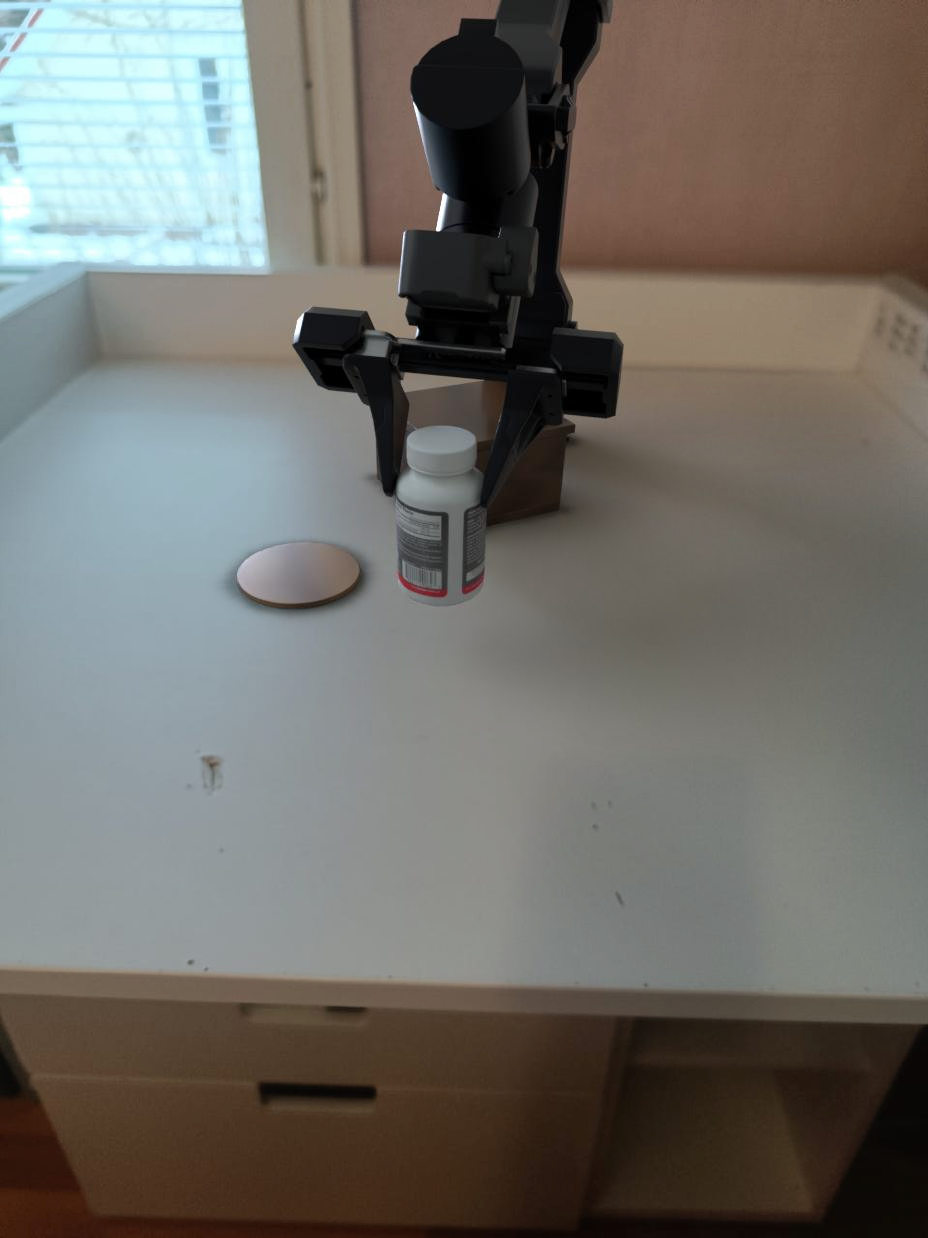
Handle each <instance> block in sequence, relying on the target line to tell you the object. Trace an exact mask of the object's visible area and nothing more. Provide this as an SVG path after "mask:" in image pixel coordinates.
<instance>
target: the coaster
mask: <svg viewBox="0 0 928 1238" xmlns="http://www.w3.org/2000/svg"><path fill="white" fill-rule="evenodd" d="M360 578H361V568H360V564H359V561H358V560H357V559H356V558H355V556H354V555H353V554H351V553H349V552H348V551H347V550H345V549H343V548H340V547H338V546H336V545H332V544H328V543H322V542H313V541H297V542H289V543H288V542H287V543H282V544H277V545H273V546H269V547H266V548H263V549H261V550H259V551H257V552H255V553H253V554H251V555H250V556H248V557H247V558H246V559H245V560H244V561H243V562H242V563H241V564H240V566H239V568H238V570H237V572H236V582H237V586H238V588H239V590H240V592H241V593H242V594H243V595H244V596H246V597H247V598H248V599H250V600H252V601H254V602H256V603H259V604H261V605H264V606H269V607H272V608H273V607H274V608H279V609H303V608H305V609H306V608H312V607H313V608H314V607H317V606H322V605H324V604H325V605H326V604H329V603H332V602H334V601H336V600H338V599H340V598H342V597H344V596H346V595H347V594H349V593H350V592H352V590H353V589H354V588H355V587H356V586H357V584H358V582H359V580H360Z"/></svg>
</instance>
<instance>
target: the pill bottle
mask: <svg viewBox="0 0 928 1238" xmlns="http://www.w3.org/2000/svg"><path fill="white" fill-rule="evenodd" d="M476 461H477V440H476V437H475V435H474V434H473V433H471V432H469V431H467V430H465V429H462V428H459V427H453V426H428V427H424V428H420V429H418V430H415V431H413V432H412V433H411V434H410V435H409V436H408V438H407V463H408V465H409V467H407V468H406V469H405V470H403V471H402V472H401V474H400V475H399V477H398V479H397V482H396V490H395V493H396V495H395V520H396V522H395V523H396V554H397V559H396V560H397V581H398V587H399V589H400V591H401V592H402V593H403V594H404V595H405V596H406V597H407V598H408V599H410V600H412V601H414V602H417V603H420V604H422V605H427V606H433V607H451V606H456V605H460V604H463V603H466V602H468V601H470V600H472V599H473V598H475V597H476V596H477V595H478V594H479V593H480V592H481V590H482V589H483V587H484V583H485V582H484V581H485V569H486V567H485V565H486V542H487V541H486V539H487V538H486V536H487V535H486V534H487V526H486V517H487V509H486V508H482V506H481V503H480V500H481V493H482V486H483V479H484V475H483V474H482V473H481V472H480V471H479V470H478V469H477V468H476V467H475V465H476Z"/></svg>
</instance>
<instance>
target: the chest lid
mask: <svg viewBox="0 0 928 1238" xmlns="http://www.w3.org/2000/svg"><path fill="white" fill-rule="evenodd" d="M505 391H506V383H505V382H498V381H488V380H478V381H471V382H463V383H457V384H451V385H445V386H438V387H431V388H425V389H418V390H417V389H416V390H411V391H410V390H409V391H406V392H405V391H404V392H405V394H406V397H407V399H408V401H409V403H410V406H409V413H408V420H407V427H406V430H407V431H408V432H410V433H412V432H413V431H415V430H418V429H420V428H424V427H428V426H453V427H459V428H462V429H465V430H467V431H469V432H471V433H473V434H474V435H475V437H476V440H477V451H481V450H486V449H492V445H493V442H494V438H495V434H496V431H497V427H498V424H499V420H500V416H501V414H502V409H503V404H504V398H505ZM575 433H576V423H574V422H573V421H571V420H570V419H568V418H566V417H565V416H564V417H563V423H562V424H561V425H558V426H552V425H548V426H546V427H545V428H544V429H543V430H542V431H541V432H540V434H539V435H538V436H537V437H536V439H535V440H540V439H545V438H550V437H556V436H561V435H566V434H567V435H572V434H575Z"/></svg>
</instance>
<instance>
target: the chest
mask: <svg viewBox="0 0 928 1238" xmlns="http://www.w3.org/2000/svg"><path fill="white" fill-rule="evenodd" d="M410 434H411V433H410V432H408V431H407V430H406V433H405V440H404V447H403V454H402V461H401V468H400V474H401V472H402V471H403V470H405V469H406V468H407V467H409V465H408V463H407V438H408V436H409V435H410ZM567 435H568V434H567ZM567 435H561V436H556V437H550V438H545V439H540V440H534V441H533V442H532V443H531V445H530V446H529V447H528V448H527V449H526V451H525V452H524V453H523V455H522V456H521V457H520V459H519V460H518V462H517V463H516V465H515V467H514V468H513V470H512V471H511V473H510V475H509V476H508V478H507V480H506V481H505V483H504V484H503V486H502V488H501V489H500V491H499V493H498V494H497V496H496V497H495V499H494V501H493V502H492V504H491V506H490V507H489V508H488V509H487V517H486V527H489V526H490V527H491V526H495V525H500V524H503V523H507V522H512V521H515V520H520V519H525V518H528V517H533V516H537V515H542V514H546V513H551V512H554V511H555V512H556V511H558V510H560V509H561V508H560V507H561V500H562V499H561V498H562V489H563V478H564V469H565V468H564V466H565V457H566V448H567V442H566V438H567ZM490 452H491V449H486V450H481V451H477V461H476V465H475V467H476V468H477V469H478V470H479V471H480V472H481V473H482V474H483V475H484V474H485V470H486V467H487V463H488V459H489V456H490ZM375 459H376V479H377V480H379V482H381V483H382V481H381V473H380V466H379V459H378V452H377V444H376V443H375ZM400 474H399V475H400ZM395 490H396V489H395ZM394 496H396V493H395V492H394Z"/></svg>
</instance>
